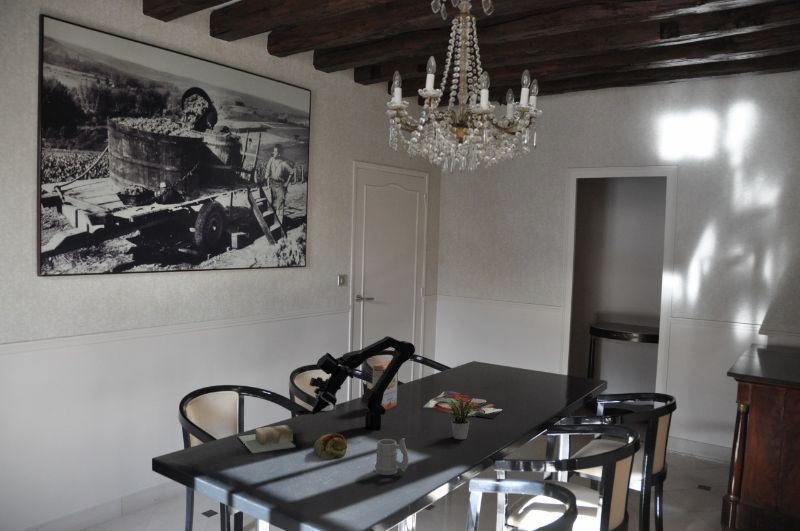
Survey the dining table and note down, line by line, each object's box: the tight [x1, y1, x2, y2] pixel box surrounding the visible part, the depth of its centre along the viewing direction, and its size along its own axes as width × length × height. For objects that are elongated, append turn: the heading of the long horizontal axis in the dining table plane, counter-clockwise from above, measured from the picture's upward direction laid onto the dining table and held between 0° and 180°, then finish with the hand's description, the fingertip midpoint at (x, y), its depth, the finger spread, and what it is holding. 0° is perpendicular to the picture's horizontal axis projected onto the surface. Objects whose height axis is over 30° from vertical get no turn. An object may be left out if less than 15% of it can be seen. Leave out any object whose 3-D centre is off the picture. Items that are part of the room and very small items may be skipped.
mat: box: [238, 433, 296, 454], centre depth 233 cm, size 16×20×1 cm
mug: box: [374, 437, 409, 476], centre depth 204 cm, size 8×12×12 cm, turn 63°
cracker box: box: [371, 360, 399, 411], centre depth 284 cm, size 14×6×21 cm, turn 151°
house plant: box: [445, 396, 477, 440], centre depth 243 cm, size 14×14×16 cm
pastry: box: [312, 432, 348, 461], centre depth 222 cm, size 14×12×8 cm
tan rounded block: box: [254, 424, 294, 445], centre depth 234 cm, size 4×8×12 cm
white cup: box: [316, 387, 334, 412], centre depth 281 cm, size 8×8×10 cm
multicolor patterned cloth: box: [423, 390, 502, 420], centre depth 292 cm, size 35×35×2 cm
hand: (312, 414), depth 241 cm, fingers closed
